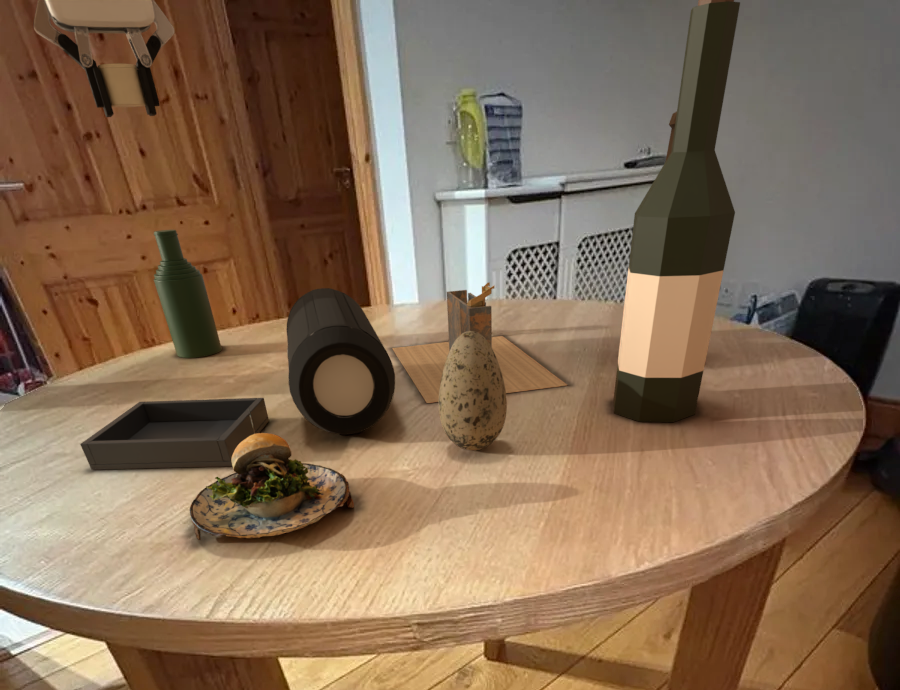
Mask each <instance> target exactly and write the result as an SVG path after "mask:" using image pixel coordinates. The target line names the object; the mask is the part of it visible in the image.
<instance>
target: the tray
mask: <svg viewBox="0 0 900 690" xmlns="http://www.w3.org/2000/svg"><path fill="white" fill-rule="evenodd" d="M249 410H250V413H251V416H252V421H253V425H254V429H255V433H256V434H257V433H262V430H264V428H265V427H266V426H267V424H268V423H269V422H270V417H269V415H268V414H269V413H268V411H267V405H266V401H265V398H264V397H239V398H211V399H210V398H209V399H207V398H206V399H183V400H182V399H179V400H178V399H177V400H151V401H138V402H137V403H136V404H134V405H132V407H130V408H129V409H127V410H125V411H124V412H123V413H122V414H120V415H119V416H117V417H116V418H115V419H113V420H112V421H110V422H109V423H107V424H106V425H105V426H103V427H102V428H100V429H99V430H98V431H96V432H95V433H94V434H92V435H91V436H89V437H88V438H87V439H85V440H84V441H82V442H80V443H79V445H80V447H81V449H82V451H83V454H84V456H85V459H86V461H87V463H88V465H89V467H90V470H93V471H94V470H95V471H96V470H100V471H101V470H134V469H135V470H136V469H137V470H139V469H174V468H175V469H176V468H177V469H178V468H213V467H214V468H215V467H220V468H221V467H233V466H232V461H231V459H232V455H233V453H234V451H235V449H236V447H237V446H238V445H239V444H240V443H241V442H242V441H243V440H245V439H246V438H247V437H249V436H251V435H253V434H255V433H254V429H253V426H252V423H251V418H250V413H249Z"/></svg>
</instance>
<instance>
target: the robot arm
mask: <svg viewBox="0 0 900 690" xmlns="http://www.w3.org/2000/svg"><path fill="white" fill-rule="evenodd" d="M51 21H52V22H53V23H54V25H55V26H57V28H59V29H61V30H63V31H66V32H69V33H74V37H75V41H74V40H72V39H71V38H70V37H69V36H68V35H66V34H65V33H63V32H62V31H60V30H58V29H57V28H55V27H54V26H53V25H52V24H51V23H52V22H51ZM152 24H154V25H155V31H154V32H153V33H152V34H151V35H150V36H149V37H148V38H147V39H148V40H147V41H146V42H145V39H144V37H143V35H142V33H145V32H147V31H148V30H149V29H150V28H151V26H152ZM33 29H34V31H35V33H36V34H37V35H39V36H40V37H42V38H43V39H45V40H47V41H48V42H49V43H51V44H53V45H55V46H56V47H58V48H59V49H61V50H62V51H63V52H64V53H65V54H67V55H68V57H70V58H71V59H72V60H73V61H74V62H75V63H77V64H78V65H79V66H80V67H81V68H82V69H83V70H84V71H85V74H86V78H87V80H88V84H89V86H90V90H91V93H92V97H93V100H94V104H95V106H96V108H98V109H99V108H100V109H101V108H102V109H103V112H104V115H105V117H106V118H112V117H113V116H114V114H115V113H114V110H113V107H112V106H111V103H110V99H109V96H108V93H107V89H106V86H105V83H104V79H103V76H102V73H101V70H100V69H98V65H97V61H96V60H95V59H94V58H93V54H92V53H93V52H92V47H91V39H90V35H89V34H125V36H126V38H127V41H128V43H129V46H130V48H131V51H132V53H133V55H134V57H135V59H136V62H135V65H136V66H137V71H138V75H139V78H140V82H141V86H142V89H143V93H144V97H145V100H146V104H147V105H146V106H144V108H145V112H146V114H147V116H149V117H155V116H157V109H156V107H160V99H159V95H158V92H157V88H156V84H155V80H154V76H153V74H152V69H151V67H152V65H153V63H154V61H155V60H156V58H157V56H158V54H159V52H160V50H161V49H162V48H163V47H164V46H165V45H166V44H167V43H168V42H169V40H170V39H171V38H172V37H173V36H174V35H175V33H176V32H175V28H174V25H173V24H172V23H171V22H170V20H169V19H168V18H167V16H166V15H165V13H164V12H163V11H162V9H161V8H160V6H159V5H158V4H157V2H156V1H155V0H37V4H36V9H35V13H34V19H33Z"/></svg>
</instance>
